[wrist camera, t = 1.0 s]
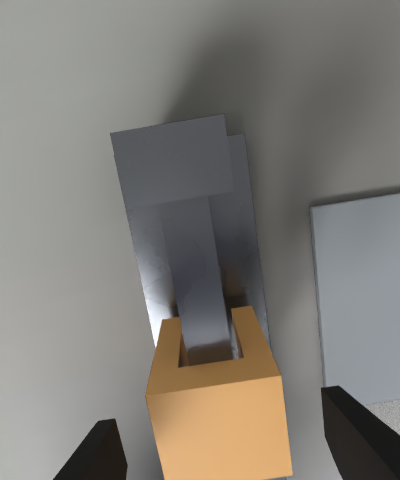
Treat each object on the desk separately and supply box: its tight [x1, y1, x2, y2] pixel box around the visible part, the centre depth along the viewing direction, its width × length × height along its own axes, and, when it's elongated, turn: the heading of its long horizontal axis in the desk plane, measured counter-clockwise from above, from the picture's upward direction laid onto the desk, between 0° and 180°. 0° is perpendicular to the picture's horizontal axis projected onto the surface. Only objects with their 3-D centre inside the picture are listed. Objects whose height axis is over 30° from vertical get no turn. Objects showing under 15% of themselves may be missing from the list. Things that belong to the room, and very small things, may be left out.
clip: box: [145, 305, 293, 480], centre depth 13 cm, size 4×4×5 cm
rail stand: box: [110, 114, 287, 480], centre depth 14 cm, size 20×6×7 cm, turn 9°
